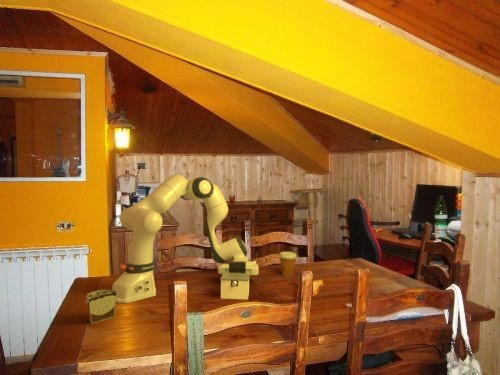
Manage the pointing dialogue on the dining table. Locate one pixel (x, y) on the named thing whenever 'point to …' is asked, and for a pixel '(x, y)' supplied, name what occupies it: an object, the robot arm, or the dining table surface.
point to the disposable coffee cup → (287, 263)
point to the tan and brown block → (101, 305)
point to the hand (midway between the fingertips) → (237, 273)
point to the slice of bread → (317, 286)
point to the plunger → (237, 268)
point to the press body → (235, 291)
